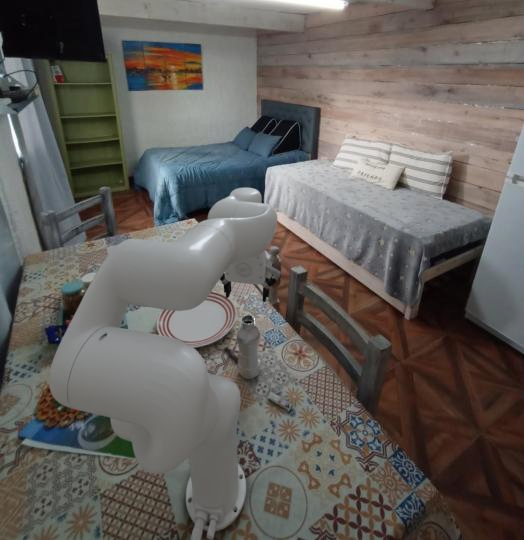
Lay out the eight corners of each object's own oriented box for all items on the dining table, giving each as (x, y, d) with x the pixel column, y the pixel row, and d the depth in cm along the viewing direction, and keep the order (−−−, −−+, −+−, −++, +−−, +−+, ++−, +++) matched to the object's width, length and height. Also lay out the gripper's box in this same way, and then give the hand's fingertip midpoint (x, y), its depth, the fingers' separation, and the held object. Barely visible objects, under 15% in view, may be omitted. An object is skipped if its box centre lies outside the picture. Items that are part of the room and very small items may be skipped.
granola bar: (266, 399, 85) (266, 396, 85) (270, 392, 87) (270, 389, 87) (288, 412, 82) (288, 410, 82) (292, 405, 84) (292, 402, 83)
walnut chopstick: (240, 362, 96) (240, 359, 96) (238, 364, 95) (237, 361, 95) (226, 348, 101) (226, 346, 100) (224, 350, 100) (223, 347, 100)
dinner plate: (145, 318, 113) (143, 311, 111) (211, 286, 129) (210, 279, 128) (180, 371, 93) (179, 363, 92) (252, 325, 110) (252, 318, 108)
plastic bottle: (257, 384, 89) (257, 330, 82) (235, 380, 91) (232, 326, 83) (262, 365, 95) (262, 312, 88) (241, 361, 97) (239, 309, 89)
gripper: (206, 243, 74) (210, 302, 80) (279, 249, 71) (278, 310, 77) (215, 228, 81) (218, 284, 87) (283, 234, 78) (281, 290, 84)
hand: (246, 296), depth 82 cm, fingers open, 9 cm apart
